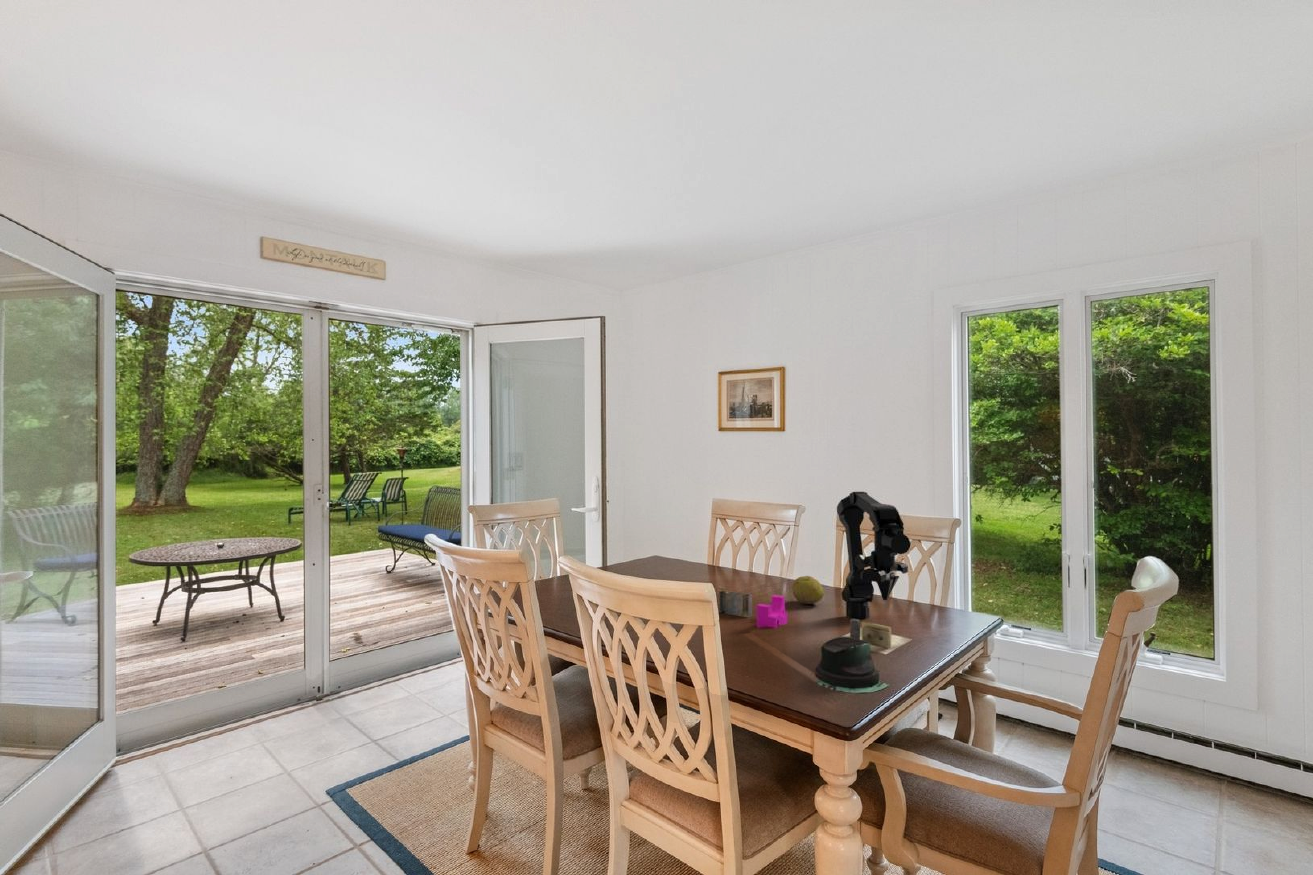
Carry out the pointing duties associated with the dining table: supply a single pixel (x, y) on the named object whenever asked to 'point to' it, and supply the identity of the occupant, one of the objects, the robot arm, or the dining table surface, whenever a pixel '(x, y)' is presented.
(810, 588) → the fruit
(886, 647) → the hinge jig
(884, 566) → the robot arm
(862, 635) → the brass leaf
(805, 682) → the dining table surface
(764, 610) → the toy block
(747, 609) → the ruin model on sheet
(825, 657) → the dark green hat
